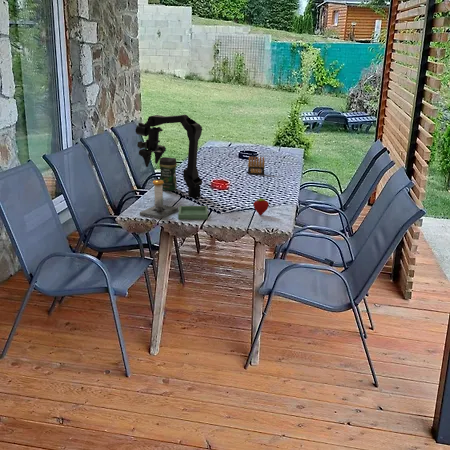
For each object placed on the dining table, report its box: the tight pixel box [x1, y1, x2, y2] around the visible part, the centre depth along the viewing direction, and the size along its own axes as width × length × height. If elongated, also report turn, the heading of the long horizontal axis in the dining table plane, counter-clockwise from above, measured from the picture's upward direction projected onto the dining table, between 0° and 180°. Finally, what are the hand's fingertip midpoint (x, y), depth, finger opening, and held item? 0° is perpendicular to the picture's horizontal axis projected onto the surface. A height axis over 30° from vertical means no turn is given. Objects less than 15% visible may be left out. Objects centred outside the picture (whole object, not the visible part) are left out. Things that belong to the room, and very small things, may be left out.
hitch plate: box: [139, 204, 179, 220], centre depth 262 cm, size 16×12×2 cm
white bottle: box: [152, 179, 164, 212], centre depth 260 cm, size 5×5×16 cm
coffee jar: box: [158, 156, 178, 192], centre depth 302 cm, size 10×8×19 cm
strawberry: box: [253, 197, 270, 216], centre depth 259 cm, size 6×8×10 cm
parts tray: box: [177, 205, 209, 220], centre depth 260 cm, size 14×14×2 cm
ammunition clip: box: [247, 155, 266, 176], centre depth 341 cm, size 11×2×12 cm, turn 83°
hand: (151, 165), depth 298 cm, fingers open, 9 cm apart
